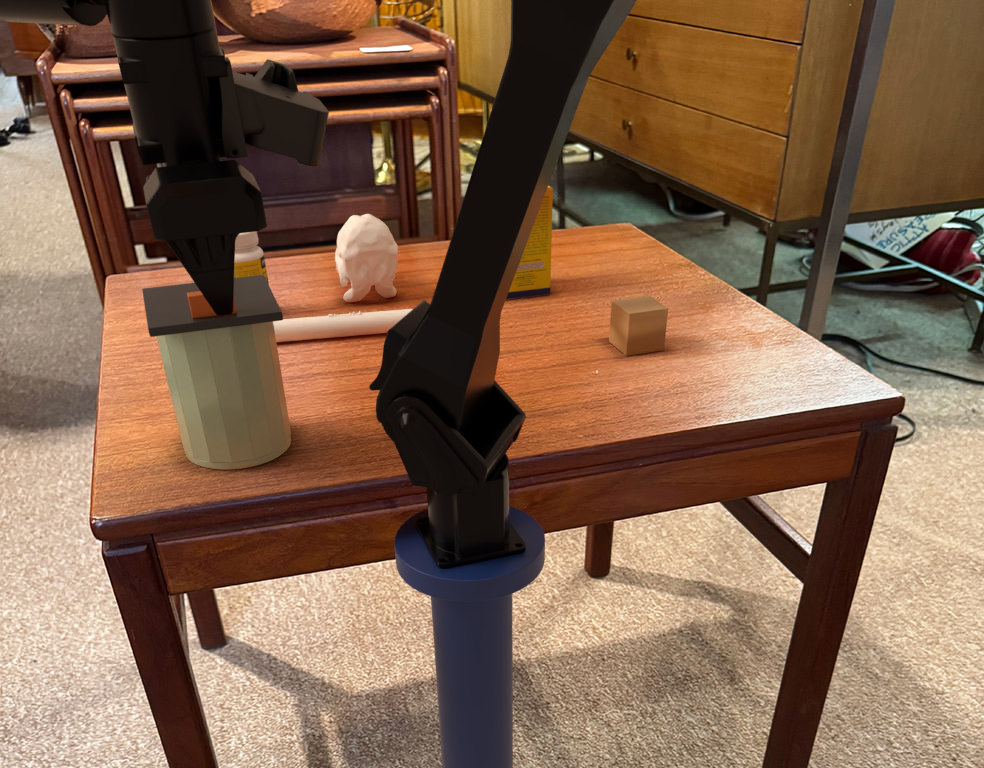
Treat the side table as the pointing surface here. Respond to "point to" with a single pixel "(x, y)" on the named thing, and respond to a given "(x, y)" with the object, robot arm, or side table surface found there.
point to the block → (638, 325)
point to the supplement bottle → (249, 256)
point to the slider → (208, 307)
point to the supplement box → (536, 256)
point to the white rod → (337, 325)
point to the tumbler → (227, 395)
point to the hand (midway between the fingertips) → (221, 303)
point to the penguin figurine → (366, 257)
